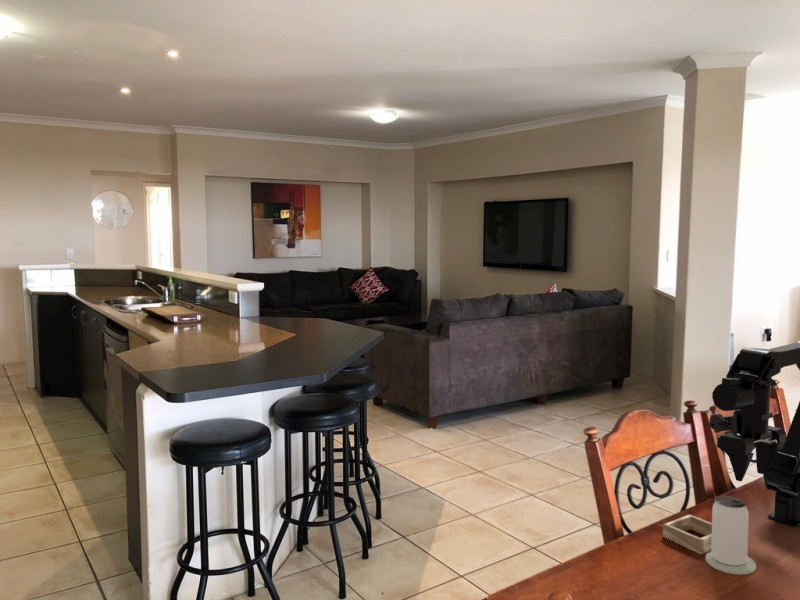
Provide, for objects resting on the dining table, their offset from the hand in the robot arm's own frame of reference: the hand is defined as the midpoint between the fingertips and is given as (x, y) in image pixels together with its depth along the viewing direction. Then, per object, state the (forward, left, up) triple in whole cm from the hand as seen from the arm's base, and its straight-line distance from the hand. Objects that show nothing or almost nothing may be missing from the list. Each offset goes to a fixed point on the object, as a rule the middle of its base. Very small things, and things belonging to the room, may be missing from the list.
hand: (749, 477), depth 141 cm
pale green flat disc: (+15, +6, -13) cm, 21 cm away
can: (+15, +5, -12) cm, 20 cm away
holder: (+12, -4, -13) cm, 18 cm away
